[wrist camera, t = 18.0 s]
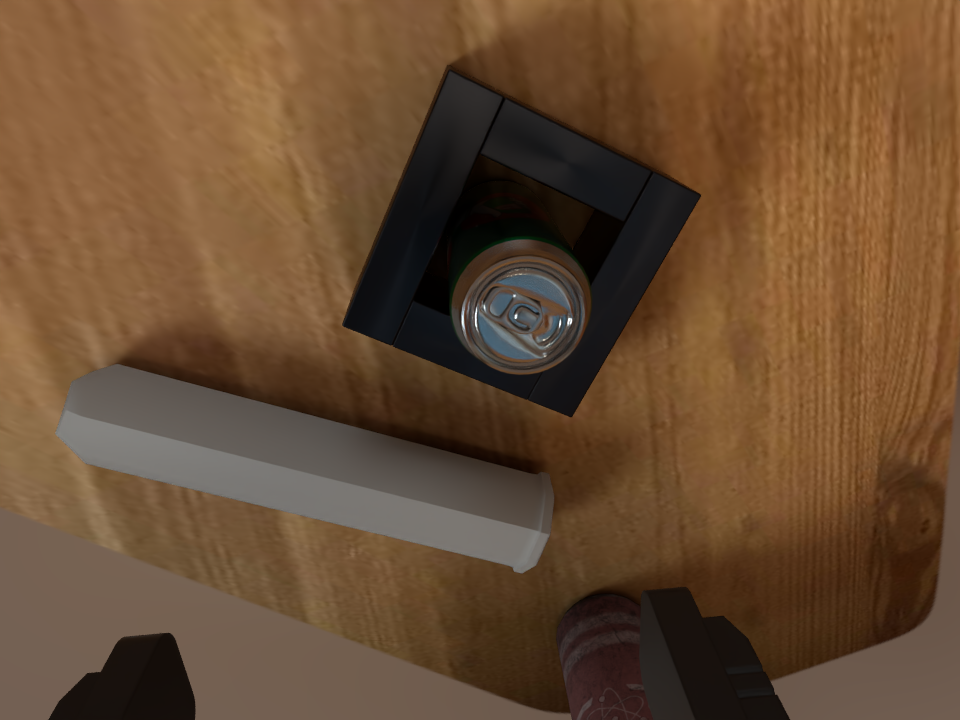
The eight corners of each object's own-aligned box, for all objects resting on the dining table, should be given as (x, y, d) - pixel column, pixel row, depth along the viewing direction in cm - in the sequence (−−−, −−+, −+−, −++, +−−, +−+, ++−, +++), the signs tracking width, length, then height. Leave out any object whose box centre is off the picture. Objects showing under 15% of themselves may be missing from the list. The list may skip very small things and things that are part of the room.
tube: (41, 478, 35) (518, 590, 39) (30, 407, 31) (556, 539, 35) (92, 401, 39) (520, 510, 43) (88, 330, 35) (554, 457, 39)
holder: (667, 174, 34) (702, 195, 29) (556, 373, 38) (571, 418, 34) (447, 64, 31) (448, 68, 27) (353, 289, 36) (341, 326, 31)
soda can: (513, 296, 36) (546, 407, 25) (427, 248, 35) (422, 343, 24) (568, 211, 34) (628, 292, 24) (480, 157, 33) (500, 215, 22)
